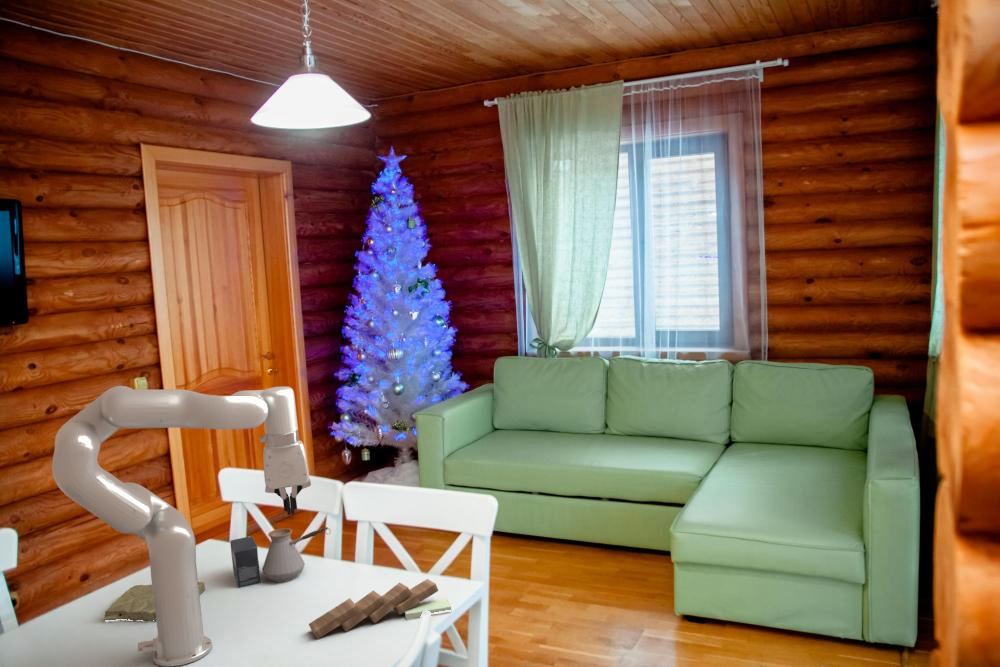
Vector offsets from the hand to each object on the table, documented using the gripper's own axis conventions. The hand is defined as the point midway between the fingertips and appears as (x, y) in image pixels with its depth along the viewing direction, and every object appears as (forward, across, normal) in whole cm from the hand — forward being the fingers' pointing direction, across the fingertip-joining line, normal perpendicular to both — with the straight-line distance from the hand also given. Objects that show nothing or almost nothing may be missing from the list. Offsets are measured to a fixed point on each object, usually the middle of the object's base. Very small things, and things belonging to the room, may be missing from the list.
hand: (291, 512), depth 192 cm
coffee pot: (+27, 0, +27) cm, 39 cm away
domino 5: (+27, +24, -8) cm, 37 cm away
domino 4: (+26, +22, -7) cm, 34 cm away
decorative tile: (+27, -37, +23) cm, 52 cm away
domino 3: (+26, +15, -8) cm, 31 cm away
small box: (+27, -15, +33) cm, 45 cm away
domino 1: (+26, +2, -10) cm, 28 cm away
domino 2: (+26, +9, -9) cm, 29 cm away
